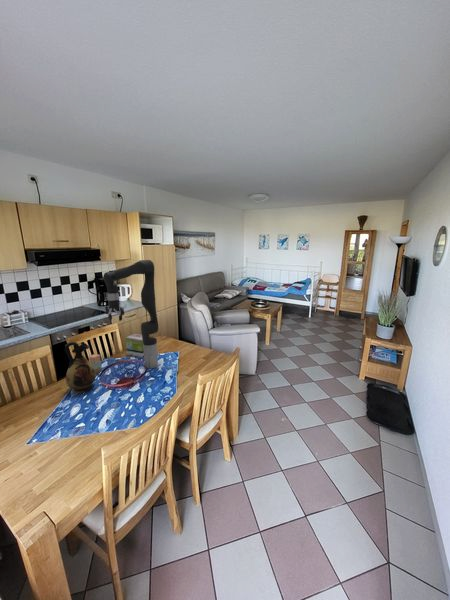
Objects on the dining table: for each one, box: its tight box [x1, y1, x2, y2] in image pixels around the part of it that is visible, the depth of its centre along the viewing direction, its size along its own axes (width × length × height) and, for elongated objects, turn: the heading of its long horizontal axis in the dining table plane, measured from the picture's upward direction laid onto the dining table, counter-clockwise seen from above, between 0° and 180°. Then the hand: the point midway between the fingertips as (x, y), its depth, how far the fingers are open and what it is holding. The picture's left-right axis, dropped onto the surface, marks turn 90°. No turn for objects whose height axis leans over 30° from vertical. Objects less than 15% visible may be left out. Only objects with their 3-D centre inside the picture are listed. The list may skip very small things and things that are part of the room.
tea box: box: [125, 333, 144, 358], centre depth 192 cm, size 15×10×15 cm
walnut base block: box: [95, 366, 102, 375], centre depth 164 cm, size 6×6×4 cm
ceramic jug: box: [64, 341, 97, 394], centre depth 143 cm, size 17×15×30 cm
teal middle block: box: [91, 361, 102, 369], centre depth 163 cm, size 5×5×4 cm
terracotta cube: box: [88, 353, 102, 364], centre depth 162 cm, size 4×4×4 cm
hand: (115, 320), depth 180 cm, fingers open, 8 cm apart
